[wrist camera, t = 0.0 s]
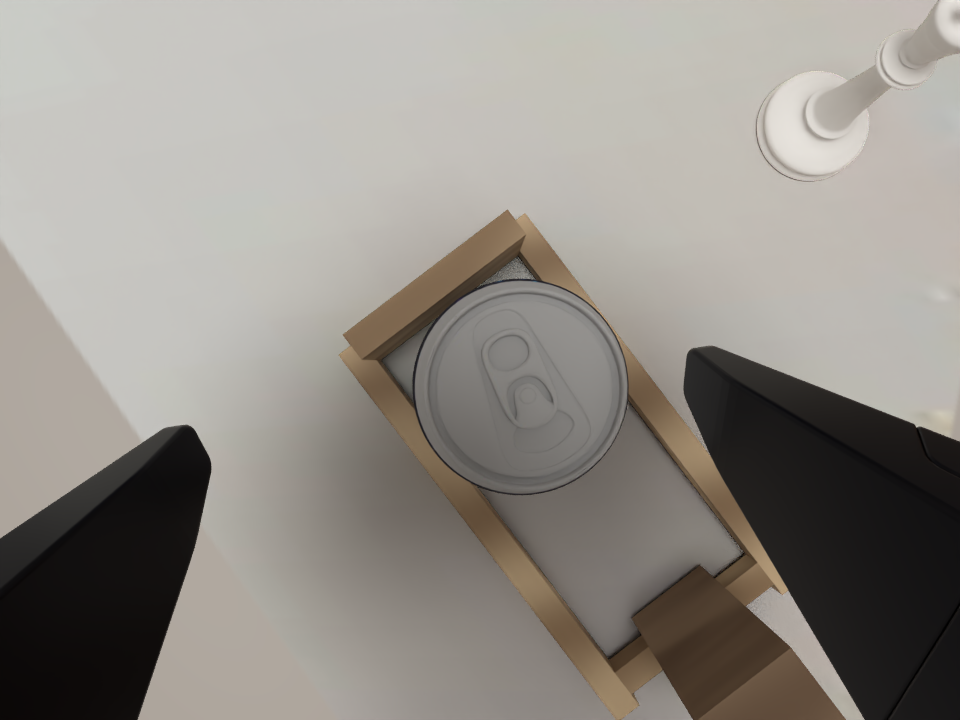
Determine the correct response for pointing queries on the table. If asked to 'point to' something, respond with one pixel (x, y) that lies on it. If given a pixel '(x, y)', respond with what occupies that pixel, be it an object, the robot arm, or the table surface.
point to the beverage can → (520, 386)
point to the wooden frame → (663, 623)
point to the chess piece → (849, 99)
